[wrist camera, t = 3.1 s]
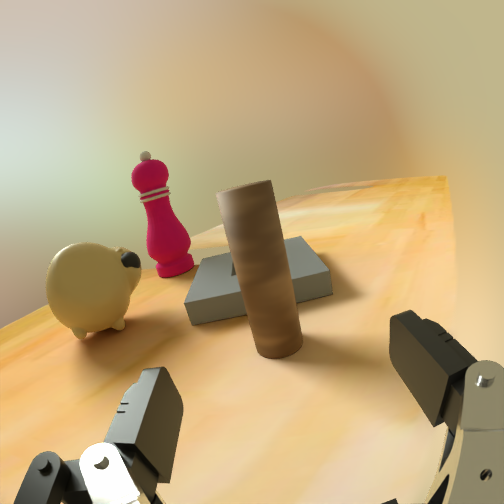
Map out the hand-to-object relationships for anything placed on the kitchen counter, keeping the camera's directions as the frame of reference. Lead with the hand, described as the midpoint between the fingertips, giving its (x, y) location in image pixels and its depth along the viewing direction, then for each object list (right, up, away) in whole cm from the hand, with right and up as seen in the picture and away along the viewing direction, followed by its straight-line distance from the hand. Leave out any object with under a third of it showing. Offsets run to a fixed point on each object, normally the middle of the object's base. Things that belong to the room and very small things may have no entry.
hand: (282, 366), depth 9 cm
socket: (0, 0, +25) cm, 25 cm away
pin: (+1, -3, +12) cm, 13 cm away
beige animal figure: (-18, -5, +22) cm, 28 cm away
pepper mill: (-13, +1, +38) cm, 40 cm away
